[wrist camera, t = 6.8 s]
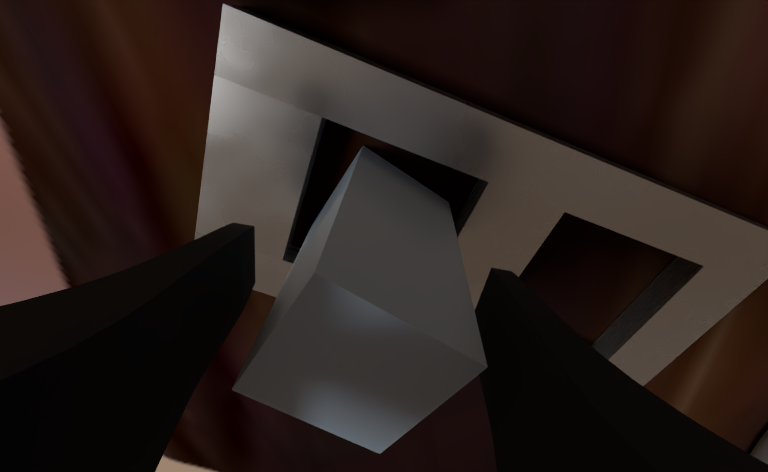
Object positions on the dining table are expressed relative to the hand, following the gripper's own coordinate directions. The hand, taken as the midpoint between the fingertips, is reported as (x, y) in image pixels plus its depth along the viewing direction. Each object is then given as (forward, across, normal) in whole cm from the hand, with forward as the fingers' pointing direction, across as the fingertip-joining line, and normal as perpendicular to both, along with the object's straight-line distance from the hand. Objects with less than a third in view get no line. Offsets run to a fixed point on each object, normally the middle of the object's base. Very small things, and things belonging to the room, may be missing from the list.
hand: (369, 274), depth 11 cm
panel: (+4, -4, +1) cm, 6 cm away
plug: (+4, 0, 0) cm, 4 cm away
